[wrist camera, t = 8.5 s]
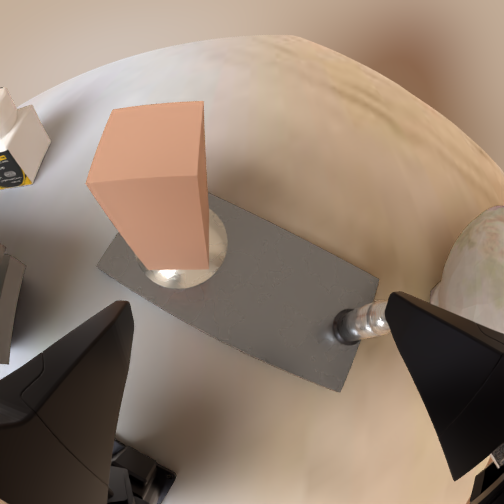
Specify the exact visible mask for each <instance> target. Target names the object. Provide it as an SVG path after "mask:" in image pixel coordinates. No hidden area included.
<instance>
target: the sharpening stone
mask: <svg viewBox="0 0 504 504" xmlns="http://www.w3.org/2000/svg"><path fill="white" fill-rule="evenodd" d="M5 249H6V247H5V246H4V245H2V244H1V243H0V364H9V357H10V347H11V338H12V330H13V324H14V317H15V312H16V306H17V301H18V296H19V292H20V287H21V283H22V279H23V275H24V271H25V268H26V265H25V264H23V263H22V262H20V261H19V260H17V259H16V258H14V257H13V256H11V255H8V254H4V252H5Z"/></svg>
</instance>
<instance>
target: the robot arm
mask: <svg viewBox="0 0 504 504" xmlns="http://www.w3.org/2000/svg"><path fill="white" fill-rule="evenodd" d="M384 315H385V319H386V321H387V323H388V326H389V328H390V331H391V333H392V336H393V338H394V341H395V343H396V345H397V348H398V350H399V352H400V354H401V356H402V358H403V360H404V362H405V364H406V366H407V368H408V370H409V372H410V374H411V376H412V378H413V381H414V383H415V385H416V387H417V389H418V391H419V393H420V396H421V398H422V400H423V402H424V405H425V407H426V409H427V411H428V414H429V416H430V418H431V421H432V423H433V426H434V428H435V431H436V433H437V436H438V439H439V441H440V444H441V447H442V449H443V452H444V455H445V457H446V460H447V463H448V466H449V469H450V472H451V475H452V478H453V480H454V481H456V480H458V479H459V478H461V477H462V476H463V475H465V474H466V473H467V472H469V471H470V470H471V469H473V468H474V467H475V466H476V465H478V464H479V463H480V462H481V461H483V460H484V459H485V458H486V457H487V456H489V455H490V457H491V458H492V460H493V462H491V463H490V464H489V465H488V466H487V467H486V468H485V469H484V470H482V471H481V472H480V473H479V474H478V475H476V477H475V481H474V486H473V490H472V494H471V498H470V504H504V334H503V333H500V332H498V331H495V330H493V329H490V328H488V327H485V326H483V325H481V324H478V323H475V322H474V321H471V320H469V319H466V318H464V317H462V316H459V315H457V314H455V313H452V312H450V311H447V310H445V309H443V308H440V307H438V306H435V305H433V304H431V303H428V302H426V301H423V300H421V299H418V298H416V297H414V296H411V295H409V294H406V293H404V292H400V291H399V292H392V293H391V294H390V296H389V299H388V302H387V305H386V308H385V312H384ZM133 334H134V320H133V316H132V311H131V306H130V303H129V302H128V301H115V302H114V303H112V304H111V305H109V306H108V307H106V308H105V309H103V310H102V311H100V312H99V313H97V314H96V315H94V316H93V317H91V318H90V319H88V320H87V321H86V322H84V323H83V324H81V325H80V326H78V327H77V328H75V329H74V330H72V331H71V332H70V333H68V334H67V335H65V336H64V337H62V338H61V339H60V340H58V341H57V342H55V343H54V344H53V345H51V346H50V347H48V348H47V349H46V350H44V351H43V353H40V354H39V355H37V356H36V357H34V358H33V359H32V360H30V361H29V362H27V363H26V364H24V365H23V366H22V367H20V368H18V369H17V370H15V371H14V372H12V373H11V374H9V375H7V376H6V377H4V378H3V379H1V380H0V504H161V503H162V501H163V499H164V498H165V496H166V494H167V493H168V491H169V489H170V488H171V486H172V484H173V483H174V481H175V479H176V474H175V472H173V471H171V470H169V469H167V468H165V467H163V466H161V465H159V464H157V463H156V461H155V460H153V459H151V458H149V457H147V456H145V455H144V454H142V453H140V452H138V451H137V450H135V449H133V448H132V447H130V446H128V447H127V446H125V445H123V444H122V443H120V442H119V441H117V440H116V439H115V433H116V428H117V422H118V417H119V412H120V407H121V402H122V397H123V392H124V388H125V383H126V379H127V375H128V370H129V364H130V356H131V348H132V340H133ZM167 475H172V477H168V476H167Z"/></svg>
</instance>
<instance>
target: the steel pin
mask: <svg viewBox="0 0 504 504" xmlns="http://www.w3.org/2000/svg"><path fill="white" fill-rule="evenodd" d="M387 302H388V301H387V300H377V301H374V302H372V303H370V304H367V305H365V306H362V307H360V308H358V309H355V310H353V311H350V312H348V313H345V314H343V315H342V316H341V317H340V318H339V320H338V322H337V331H338V334H339V336H340V337H341V338H342V339H343V340H345V341H355V340H361V339H366V338H371V337H376V336H381V335H385V334H388V333H389V332H391V331H390V328H389V326H388V323H387V321H386V319H385V315H384V312H385V308H386V305H387Z"/></svg>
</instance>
